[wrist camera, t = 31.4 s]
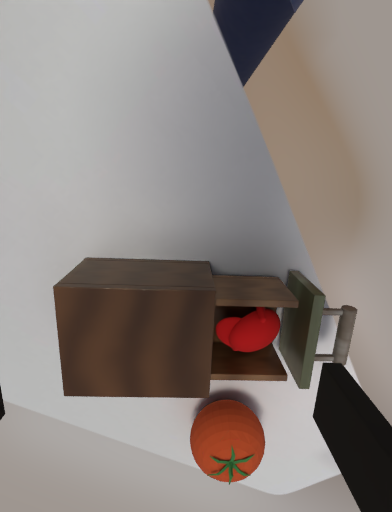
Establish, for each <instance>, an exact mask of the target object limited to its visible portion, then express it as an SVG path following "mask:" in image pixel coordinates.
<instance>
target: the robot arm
mask: <svg viewBox="0 0 392 512" xmlns="http://www.w3.org/2000/svg"><path fill="white" fill-rule="evenodd" d="M4 415H5V410H4V404H3V399H2V393H1V387H0V420H1V419H2V417H3V416H4ZM313 418H314V420H315V422H316V424H317V426H318V428H319V430H320V432H321V434H322V436H323V438H324V440H325V442H326V444H327V446H328V448H329V450H330V452H331V454H332V456H333V458H334V460H335V462H336V464H337V466H338V467H339V469H340V471H341V473H342V475H343V477H344V479H345V481H346V483H347V485H348V487H349V489H350V491H351V493H352V495H353V497H354V499H355V501H356V503H357V505H358V507H359V509H360V511H361V512H392V426H391V425H390V424H389V422H388V421H387V420H386V419H385V418H384V416H383V415H382V414H381V413H380V411H379V410H378V409H377V407H376V406H375V405H374V404H373V402H372V401H371V400H370V399H369V397H368V396H367V395H366V394H365V392H364V391H363V390H362V389H361V387H360V386H359V385H358V384H357V382H356V381H355V380H354V378H353V377H352V376H351V375H350V373H349V372H348V371H347V370H346V368H345V367H344V366H343V365H342V363H323V365H322V370H321V376H320V381H319V386H318V392H317V397H316V402H315V408H314V413H313Z"/></svg>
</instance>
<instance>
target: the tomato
mask: <svg viewBox="0 0 392 512" xmlns="http://www.w3.org/2000/svg"><path fill="white" fill-rule="evenodd" d="M190 444H191V450H192V454H193V456H194V459H195V461H196V463H197V464H198V466H199V467H200V468H201V470H202V471H203V472H204V473H205V474H207V475H208V476H210V477H211V478H214V479H216V480H219V481H223V482H229V484H230V482H236V481H240V480H242V479H245V478H246V477H248V476H250V475H251V474H252V473H253V472H254V471H255V470H256V469H257V467H258V466H259V464H260V462H261V460H262V457H263V454H264V448H265V437H264V431H263V428H262V426H261V423H260V421H259V419H258V418H257V416H256V415H255V414H254V412H253V411H252V410H251V409H250V408H248V407H247V406H245V405H244V404H242V403H240V402H237V401H234V400H219V401H215V402H212V403H211V404H209V405H207V406H206V407H204V408H203V409H202V410H201V412H200V413H199V414H198V415H197V417H196V418H195V420H194V423H193V425H192V429H191V435H190Z"/></svg>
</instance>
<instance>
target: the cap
mask: <svg viewBox="0 0 392 512" xmlns="http://www.w3.org/2000/svg"><path fill="white" fill-rule="evenodd" d="M279 330H280V319H279V316H278V315H277V313H276V312H275V311H273V310H271V309H266V308H265V307H256V311H253V312H251V313H249V314H247V315H246V316H244V317H243V318H239V317H228V318H224V319H222V320H221V321H219V322H218V324H217V325H216V334H217V336H218V338H219V339H220V340H221V341H222V342H223V343H224V344H226V345H227V346H229V347H231V348H232V350H234V351H241V352H254V351H257V350H260V349H262V348H264V347H266V346H267V345H269V344H270V343H271V342H272V341H273V340H274V339H275V338H276V336H277V335H278V332H279Z"/></svg>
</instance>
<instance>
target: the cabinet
mask: <svg viewBox="0 0 392 512" xmlns="http://www.w3.org/2000/svg"><path fill="white" fill-rule="evenodd" d="M53 290H54V300H55V310H56V320H57V330H58V340H59V350H60V360H61V370H62V380H63V390H64V396H94V397H173V398H209V392H210V376H211V361H212V346H213V330H214V315H215V300H216V289H215V285H214V281H213V277H212V273H211V268H210V264H209V261H179V260H147V259H115V258H85V259H84V260H83V261H82V262H81V263H80V264H78V265H77V266H76V267H75V268H74V269H73V270H72V271H71V272H69V273H68V274H67V275H66V276H65V277H64V278H63V279H61V280H60V281H59V282H58V283H57V284H56V285H54V286H53Z"/></svg>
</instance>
